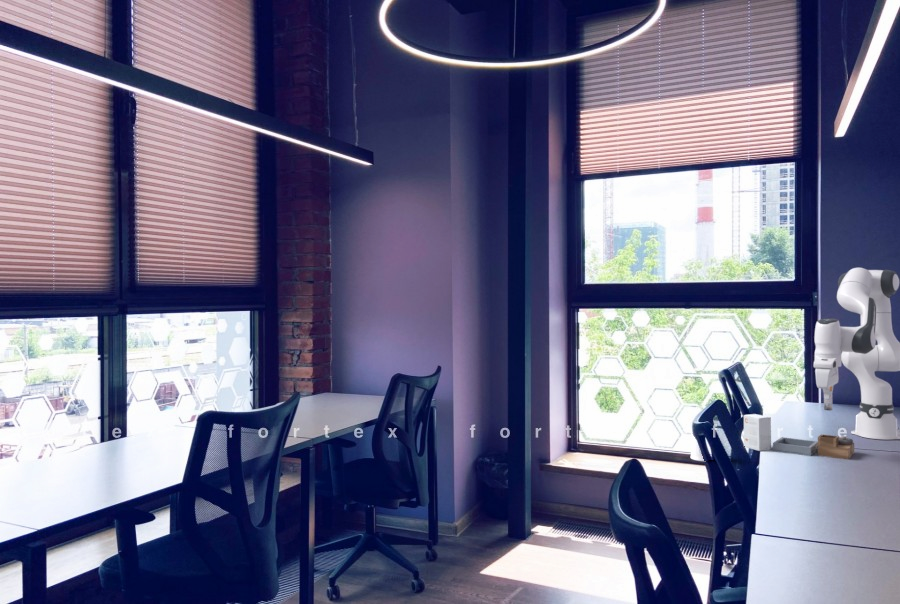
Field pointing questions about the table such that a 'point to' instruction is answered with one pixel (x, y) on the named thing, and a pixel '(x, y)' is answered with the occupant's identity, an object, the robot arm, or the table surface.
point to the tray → (795, 446)
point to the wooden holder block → (835, 446)
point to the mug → (695, 449)
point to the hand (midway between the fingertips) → (828, 397)
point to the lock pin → (828, 401)
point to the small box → (757, 432)
